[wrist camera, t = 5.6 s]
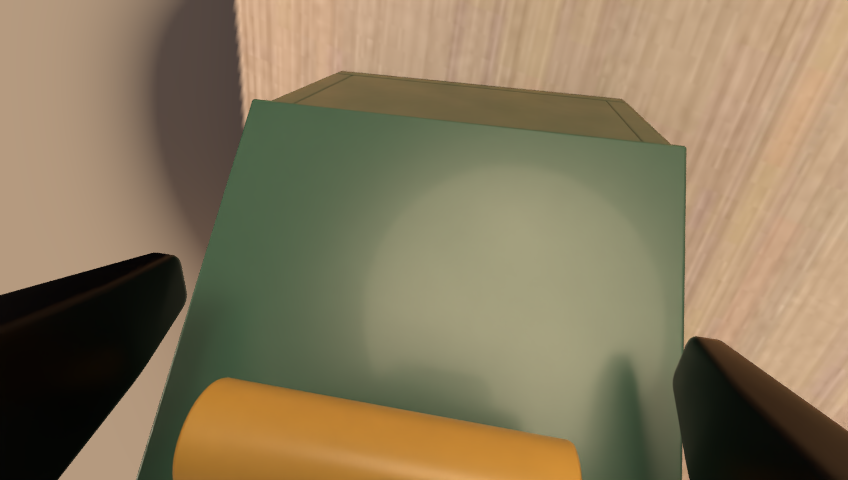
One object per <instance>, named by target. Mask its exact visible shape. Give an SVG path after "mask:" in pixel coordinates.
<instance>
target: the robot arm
mask: <svg viewBox="0 0 848 480" xmlns="http://www.w3.org/2000/svg"><path fill="white" fill-rule="evenodd" d="M186 298H187V293H186V286H185V281H184V276H183V272H182V266H181V263H180V260H179V259H178V258H177V257H176V256H174V255H169V254H162V253H150V254H147V255H143V256H139V257H136V258H133V259H129V260H125V261H122V262H118V263H114V264H111V265H107V266H104V267H100V268H96V269H93V270H89V271H86V272H82V273H78V274H75V275H71V276H67V277H64V278H61V279H57V280H53V281H49V282H46V283H43V284H39V285H35V286H32V287H28V288H25V289H21V290H17V291H14V292H10V293H6V294H3V295H0V480H58V479H59V477H60V476H61V475H62V474H63V472H64V471H65V470H66V469H67V467H68V466H69V465H70V464H71V462H72V461H73V460H74V458H75V457H76V456H77V455H78V453H79V452H80V451H81V449H82V448H83V447H84V446H85V444H86V443H87V442H88V441H89V439H90V438H91V437H92V435H93V434H94V433H95V432H96V430H97V429H98V428H99V427H100V425H101V424H102V423H103V421H104V420H105V419H106V418H107V416H108V415H109V414H110V412H111V411H112V410H113V409H114V407H115V406H116V405H117V404H118V402H119V401H120V400H121V398H122V397H123V396H124V395H125V393H126V392H127V391H128V389H129V388H130V387H131V386H132V384H133V383H134V382H135V380H136V379H137V378H138V376H139V375H140V373H141V372H142V370H143V369H144V367H145V366H146V365H147V363H148V362H149V360H150V358H151V357H152V356H153V354H154V352H155V351H156V349H157V348H158V346H159V344H160V343H161V341H162V340H163V338H164V336H165V335H166V333H167V332H168V330H169V329H170V327H171V326H172V324H173V322H174V321H175V319H176V318H177V316H178V315H179V313H180V311H181V310H182V308H183V306H184V305H185V302H186ZM673 393H674V398H675V404H676V409H677V415H678V421H679V426H680V432H681V437H682V443H683V449H684V454H685V460H686V465H687V470H688V474H689V479H690V480H848V431H847V430H846V429H844V428H843V427H841V426H840V425H838V424H837V423H836V422H834V421H833V420H831V419H830V418H829V417H827V416H826V415H824V414H823V413H822V412H820V411H819V410H817V409H816V408H815V407H813V406H812V405H810V404H809V403H808V402H806V401H805V400H803V399H802V398H801V397H799V396H798V395H796V394H795V393H794V392H792V391H791V390H789V389H788V388H787V387H785V386H784V385H782V384H781V383H780V382H778V381H777V380H775V379H774V378H773V377H771V376H770V375H768V374H767V373H766V372H764V371H763V370H761V369H760V368H758V367H757V366H756V365H754V364H753V363H751V362H750V361H749V360H747V359H746V358H744V357H743V356H742V355H740V354H739V353H737V352H736V351H735V350H733V349H732V348H730V347H729V346H728V345H726V344H725V343H723V342H722V341H720V340H717V339H710V338H703V337H697V336H695V337H692V338H690V339H689V341H688V342H687V344H686V346H685V349H684V351H683V353H682V356H681V358H680V360H679V363H678V365H677V368H676V370H675V372H674V376H673Z"/></svg>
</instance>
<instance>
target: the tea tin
mask: <svg viewBox="0 0 848 480" xmlns="http://www.w3.org/2000/svg"><path fill="white" fill-rule="evenodd" d="M272 101H276V102H286V103H295V104H304V105H313V106H322V107H331V108H340V109H349V110H359V111H368V112H377V113H386V114H395V115H404V116H413V117H423V118H432V119H441V120H450V121H459V122H468V123H477V124H486V125H496V126H505V127H514V128H523V129H532V130H541V131H550V132H560V133H569V134H578V135H587V136H596V137H605V138H614V139H623V140H633V141H642V142H651V143H660V144H669V145H671V144H670V143H669V142H668V141H667V140H666V139H665V138H663V137H662V136H661V135H660V134H659V133H658V132H657V131H656V130H655V129H654V128H653V127H652V126H651V125H650V124H649V123H648V122H646V121H645V120H644V119H643V118H642V117H641V116H640V115H639V114H638V113H637V112H636V111H635V110H634V109H633V108H632V107H631V106H629V105H628V104H627V103H626V102H625V101H624V100H622V99H616V98H606V97H596V96H586V95H576V94H566V93H556V92H546V91H536V90H526V89H516V88H506V87H496V86H486V85H476V84H466V83H456V82H446V81H436V80H426V79H416V78H406V77H396V76H386V75H376V74H366V73H356V72H345V71H341V72H338V73H336V74H333V75H331V76H329V77H326V78H324V79H322V80H319V81H317V82H315V83H312V84H310V85H308V86H305V87H303V88H300V89H298V90H296V91H293V92H291V93H289V94H286V95H284V96H282V97H279V98H277V99H275V100H272Z"/></svg>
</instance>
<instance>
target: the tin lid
mask: <svg viewBox="0 0 848 480" xmlns="http://www.w3.org/2000/svg"><path fill="white" fill-rule="evenodd" d="M685 209H686V147H685V146H678V145H669V144H660V143H651V142H642V141H633V140H623V139H614V138H605V137H596V136H587V135H578V134H569V133H560V132H550V131H541V130H532V129H523V128H514V127H505V126H496V125H486V124H477V123H468V122H459V121H450V120H441V119H432V118H423V117H413V116H404V115H395V114H386V113H377V112H368V111H359V110H349V109H340V108H331V107H322V106H313V105H304V104H295V103H286V102H276V101H267V100H258V99H254V100H253V101H252V104H251V107H250V110H249V114H248V117H247V120H246V123H245V127H244V130H243V133H242V136H241V140H240V143H239V146H238V149H237V153H236V156H235V159H234V162H233V166H232V169H231V172H230V175H229V179H228V182H227V185H226V188H225V192H224V195H223V198H222V201H221V205H220V208H219V211H218V214H217V218H216V221H215V224H214V228H213V231H212V234H211V237H210V241H209V244H208V247H207V250H206V254H205V257H204V260H203V263H202V267H201V270H200V273H199V276H198V280H197V283H196V286H195V289H194V293H193V296H192V299H191V302H190V306H189V309H188V313H187V316H186V319H185V322H184V325H183V328H182V332H181V335H180V338H179V341H178V345H177V348H176V351H175V354H174V358H173V361H172V364H171V368H170V371H169V374H168V377H167V380H166V384H165V387H164V390H163V393H162V397H161V400H160V403H159V407H158V410H157V413H156V416H155V420H154V423H153V426H152V429H151V433H150V436H149V439H148V442H147V445H146V449H145V452H144V455H143V459H142V462H141V465H140V468H139V471H138V475H137V478H136V480H682V437H681V432H680V426H679V421H678V415H677V409H676V404H675V398H674V393H673V376H674V372H675V370H676V368H677V365H678V363H679V360H680V358H681V356H682V353H683V351H684V281H685Z"/></svg>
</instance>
